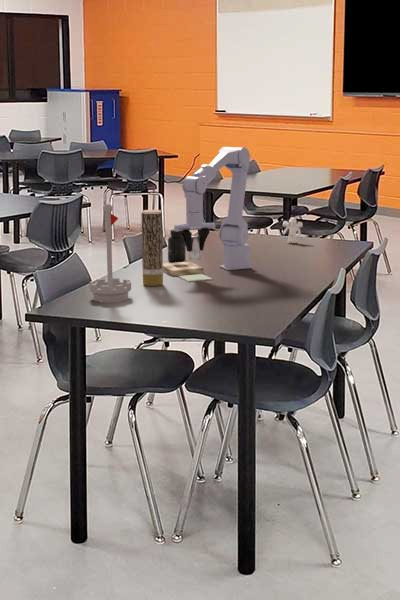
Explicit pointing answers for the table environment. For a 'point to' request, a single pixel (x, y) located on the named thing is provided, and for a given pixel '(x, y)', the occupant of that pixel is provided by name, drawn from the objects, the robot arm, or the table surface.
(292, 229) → the hat wearing toy figure
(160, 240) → the paper tube
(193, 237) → the clear glass cup
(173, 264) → the plate
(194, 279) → the sage mat
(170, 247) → the supplement bottle
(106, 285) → the flag stand
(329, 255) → the table surface
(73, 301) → the table surface
